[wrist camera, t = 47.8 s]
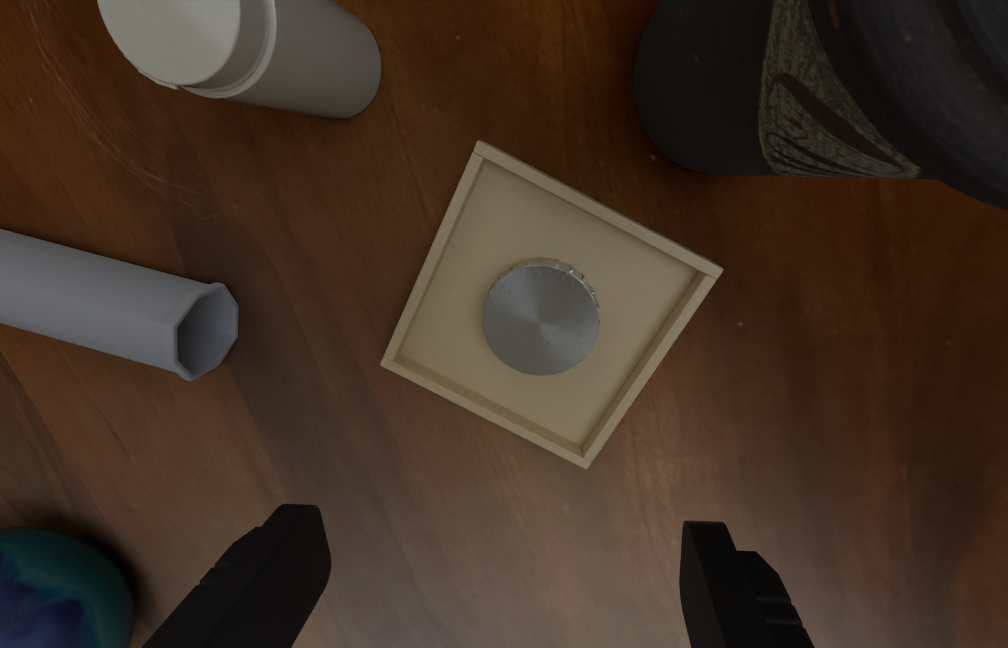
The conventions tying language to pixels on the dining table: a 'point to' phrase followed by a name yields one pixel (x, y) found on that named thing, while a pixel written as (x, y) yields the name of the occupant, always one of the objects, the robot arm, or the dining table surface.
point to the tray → (554, 235)
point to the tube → (115, 306)
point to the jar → (252, 51)
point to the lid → (541, 317)
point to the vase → (61, 592)
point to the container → (831, 89)
